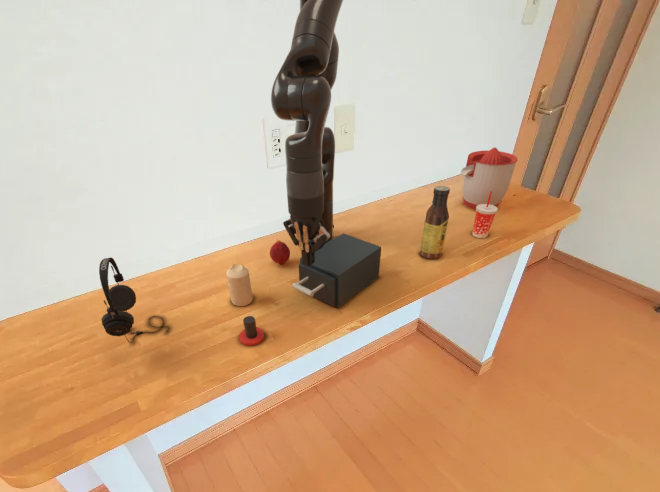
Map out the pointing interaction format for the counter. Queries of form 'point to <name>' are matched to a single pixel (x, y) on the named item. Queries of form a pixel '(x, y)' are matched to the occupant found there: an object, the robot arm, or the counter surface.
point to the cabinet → (349, 264)
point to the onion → (279, 252)
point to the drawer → (317, 284)
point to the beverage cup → (483, 219)
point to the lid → (251, 332)
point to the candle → (239, 285)
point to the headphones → (117, 302)
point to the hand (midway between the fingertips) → (308, 263)
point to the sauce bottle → (435, 224)
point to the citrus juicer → (487, 177)
